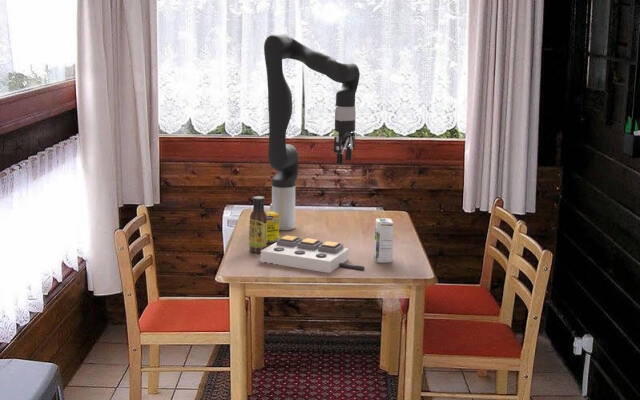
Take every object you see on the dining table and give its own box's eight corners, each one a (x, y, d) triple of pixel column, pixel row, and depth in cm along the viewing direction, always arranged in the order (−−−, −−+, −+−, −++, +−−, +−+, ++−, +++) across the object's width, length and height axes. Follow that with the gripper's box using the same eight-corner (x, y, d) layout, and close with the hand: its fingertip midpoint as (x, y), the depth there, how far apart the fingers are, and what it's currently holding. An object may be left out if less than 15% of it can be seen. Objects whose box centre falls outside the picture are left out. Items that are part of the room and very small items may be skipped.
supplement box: (264, 244, 294) (264, 216, 291) (258, 240, 299) (258, 212, 296) (279, 242, 296) (279, 214, 294) (272, 238, 301) (272, 210, 299)
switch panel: (260, 262, 273) (260, 246, 272) (281, 249, 288) (281, 234, 286) (355, 277, 259) (356, 260, 258) (373, 263, 274) (373, 247, 272)
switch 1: (280, 244, 280) (280, 238, 279) (286, 240, 284) (286, 235, 284) (292, 245, 278) (292, 240, 278) (298, 242, 282) (298, 236, 282)
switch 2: (300, 246, 277) (300, 241, 276) (306, 243, 281) (306, 237, 281) (313, 248, 275) (313, 243, 274) (318, 245, 279) (318, 239, 279)
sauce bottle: (245, 251, 285) (245, 197, 280) (255, 247, 290) (255, 194, 286) (260, 254, 282) (260, 199, 277) (270, 250, 287) (270, 196, 282)
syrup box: (373, 257, 280) (374, 218, 277) (389, 257, 280) (391, 217, 277) (375, 262, 274) (377, 222, 271) (392, 262, 275) (394, 222, 272)
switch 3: (321, 250, 274) (321, 244, 273) (327, 246, 278) (327, 240, 277) (334, 251, 272) (334, 246, 271) (339, 248, 276) (339, 242, 275)
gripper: (343, 115, 297) (342, 158, 301) (327, 120, 285) (327, 164, 288) (361, 116, 294) (360, 160, 298) (347, 121, 282) (346, 166, 286)
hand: (344, 162), depth 293 cm, fingers open, 8 cm apart
